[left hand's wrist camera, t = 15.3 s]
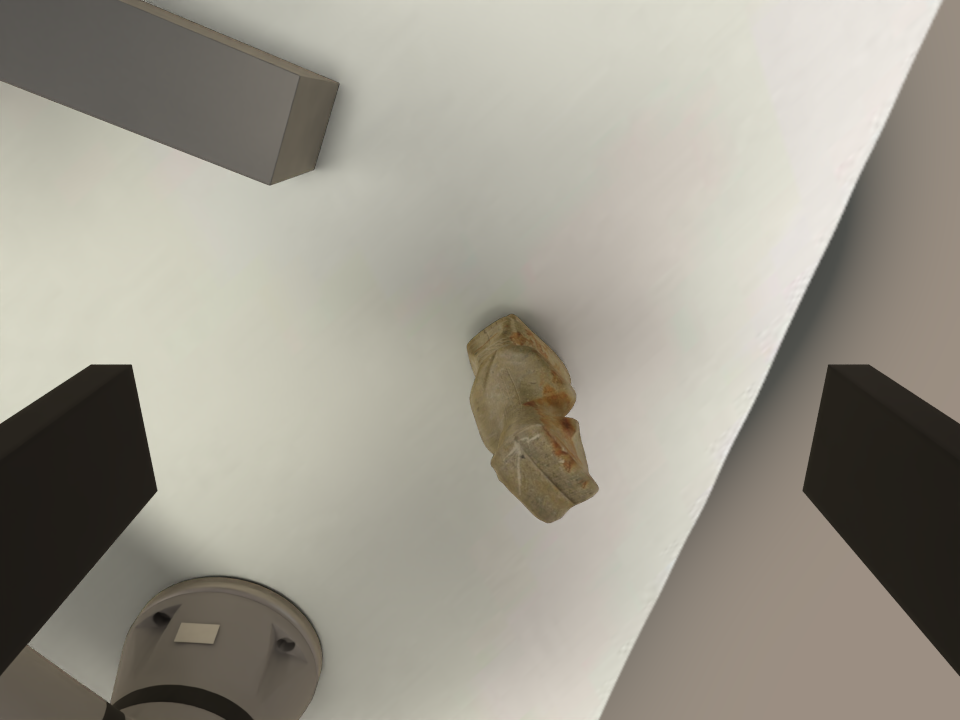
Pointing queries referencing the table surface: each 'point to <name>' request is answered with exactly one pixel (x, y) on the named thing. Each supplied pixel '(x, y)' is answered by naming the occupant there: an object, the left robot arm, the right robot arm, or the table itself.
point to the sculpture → (528, 419)
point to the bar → (169, 82)
